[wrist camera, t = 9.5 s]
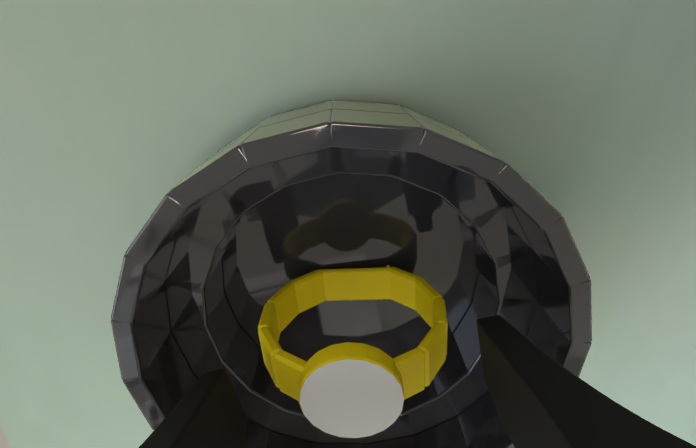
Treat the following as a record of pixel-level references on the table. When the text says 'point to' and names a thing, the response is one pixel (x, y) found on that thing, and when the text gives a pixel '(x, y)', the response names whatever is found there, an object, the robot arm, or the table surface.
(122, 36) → the table surface
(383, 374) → the watch
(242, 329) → the bowl
